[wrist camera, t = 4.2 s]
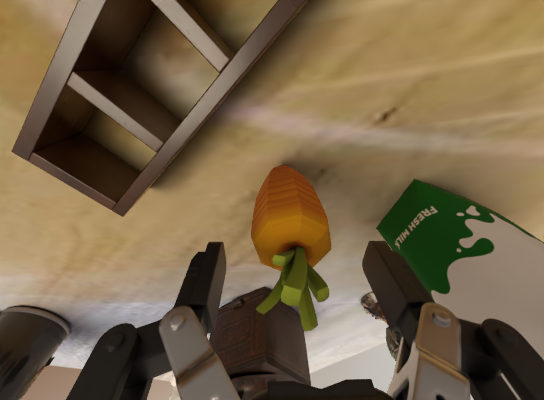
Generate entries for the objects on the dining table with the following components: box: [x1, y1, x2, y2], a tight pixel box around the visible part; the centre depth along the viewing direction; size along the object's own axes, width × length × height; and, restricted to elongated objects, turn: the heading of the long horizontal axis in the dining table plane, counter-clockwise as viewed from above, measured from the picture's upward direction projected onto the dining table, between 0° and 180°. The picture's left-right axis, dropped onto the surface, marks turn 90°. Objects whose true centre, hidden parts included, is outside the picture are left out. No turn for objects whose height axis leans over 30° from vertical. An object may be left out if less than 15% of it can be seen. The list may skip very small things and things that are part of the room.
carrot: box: [251, 165, 331, 331], centre depth 15 cm, size 5×5×15 cm
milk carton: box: [377, 180, 544, 400], centre depth 17 cm, size 9×9×20 cm
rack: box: [12, 0, 309, 217], centre depth 15 cm, size 8×22×5 cm, turn 134°
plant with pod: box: [361, 292, 403, 361], centre depth 25 cm, size 8×11×20 cm
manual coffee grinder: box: [209, 287, 311, 400], centre depth 28 cm, size 16×11×18 cm
